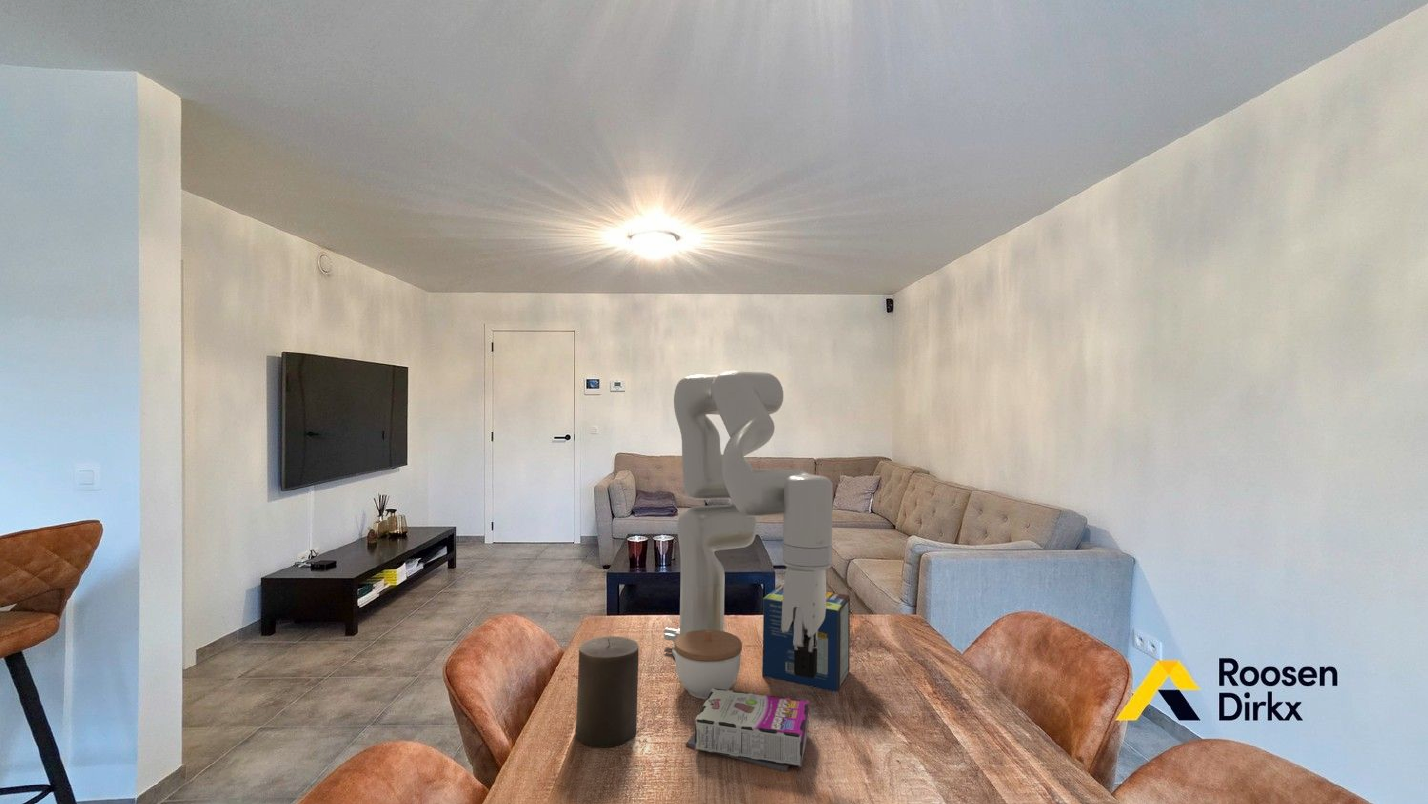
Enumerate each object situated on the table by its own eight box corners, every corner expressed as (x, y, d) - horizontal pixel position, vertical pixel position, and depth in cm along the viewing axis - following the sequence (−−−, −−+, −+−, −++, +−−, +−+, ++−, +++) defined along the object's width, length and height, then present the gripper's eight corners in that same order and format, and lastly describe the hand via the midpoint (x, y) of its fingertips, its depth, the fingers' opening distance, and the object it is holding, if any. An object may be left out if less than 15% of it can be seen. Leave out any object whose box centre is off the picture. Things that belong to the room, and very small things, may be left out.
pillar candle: (610, 754, 89) (614, 654, 90) (562, 736, 94) (565, 640, 95) (648, 726, 98) (651, 634, 98) (602, 711, 103) (605, 623, 103)
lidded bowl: (747, 704, 106) (748, 642, 106) (677, 709, 104) (678, 645, 104) (733, 674, 118) (734, 618, 118) (670, 677, 116) (671, 620, 116)
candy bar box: (809, 731, 96) (711, 715, 101) (810, 699, 96) (712, 685, 101) (801, 770, 86) (692, 750, 90) (802, 735, 86) (693, 717, 90)
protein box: (777, 657, 127) (779, 584, 127) (850, 671, 120) (851, 594, 121) (760, 676, 117) (761, 597, 118) (838, 693, 111) (839, 609, 111)
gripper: (796, 543, 100) (794, 652, 100) (769, 563, 87) (767, 689, 86) (840, 548, 98) (839, 660, 97) (820, 569, 84) (818, 700, 83)
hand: (805, 674), depth 92 cm, fingers closed
